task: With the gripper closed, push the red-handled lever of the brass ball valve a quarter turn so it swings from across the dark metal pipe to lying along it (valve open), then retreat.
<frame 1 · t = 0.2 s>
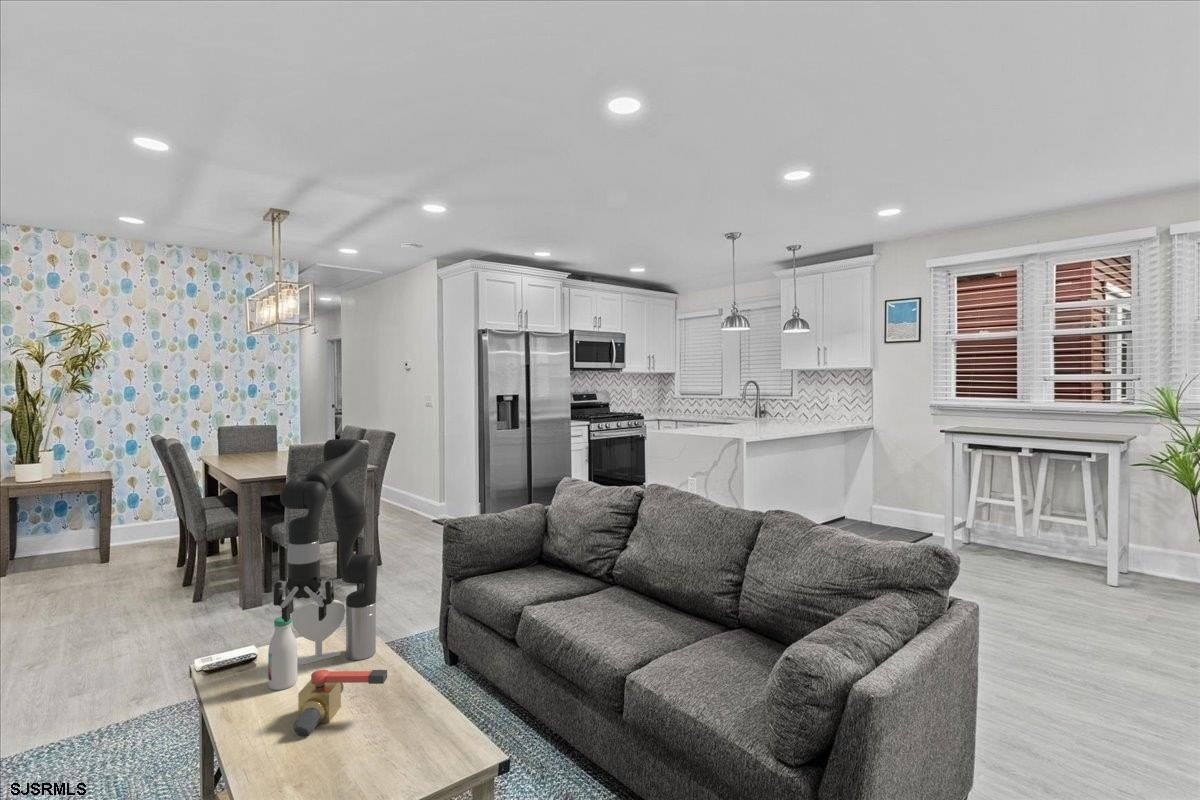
hand: (304, 620, 157), 29 cm above the table, fingers open, 8 cm apart
heart sculpture: (318, 657, 200), on the table
milk bottle: (283, 685, 181), on the table
valve body: (320, 714, 165), on the table
lever: (348, 676, 165), point 10 cm above the table, hinge at 90.0°
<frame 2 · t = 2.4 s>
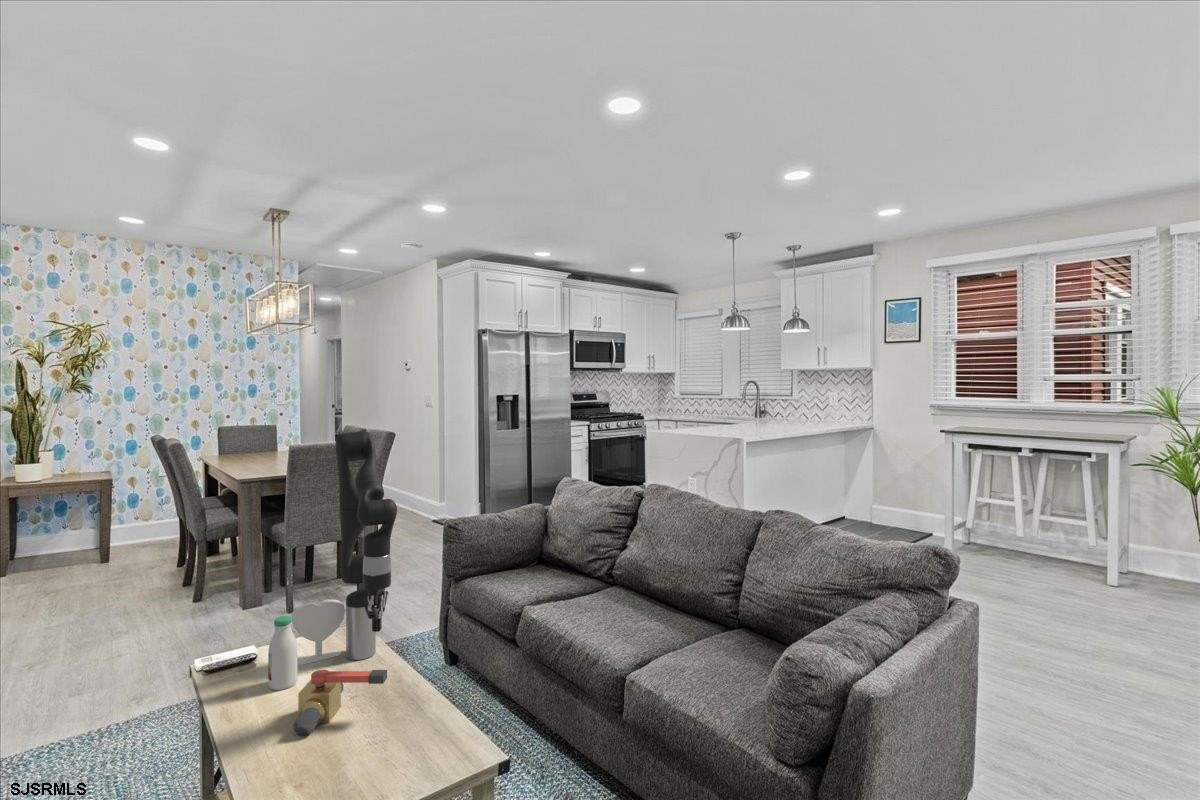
hand: (376, 630, 172), 20 cm above the table, fingers closed
nothing on the table moved.
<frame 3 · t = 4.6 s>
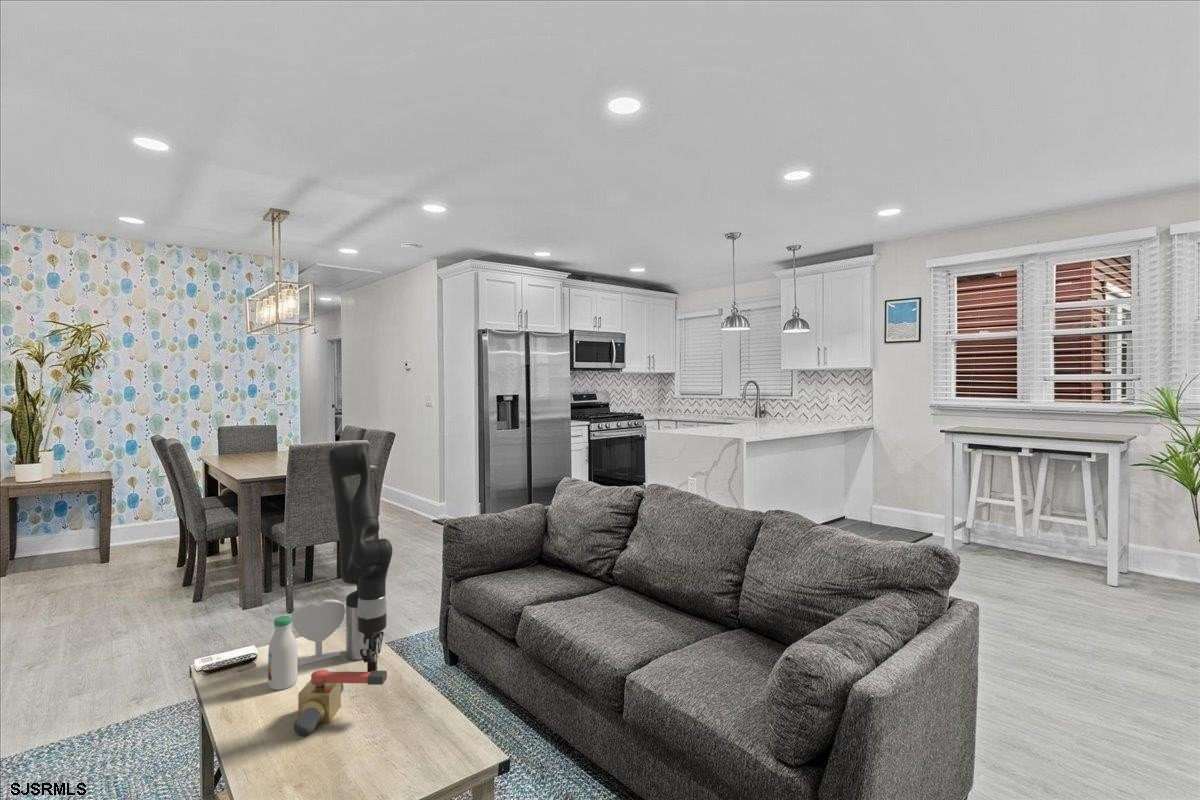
hand: (372, 673, 168), 10 cm above the table, fingers closed
lever: (348, 677, 165), point 10 cm above the table, hinge at 88.2°, touching gripper
everything else where it was.
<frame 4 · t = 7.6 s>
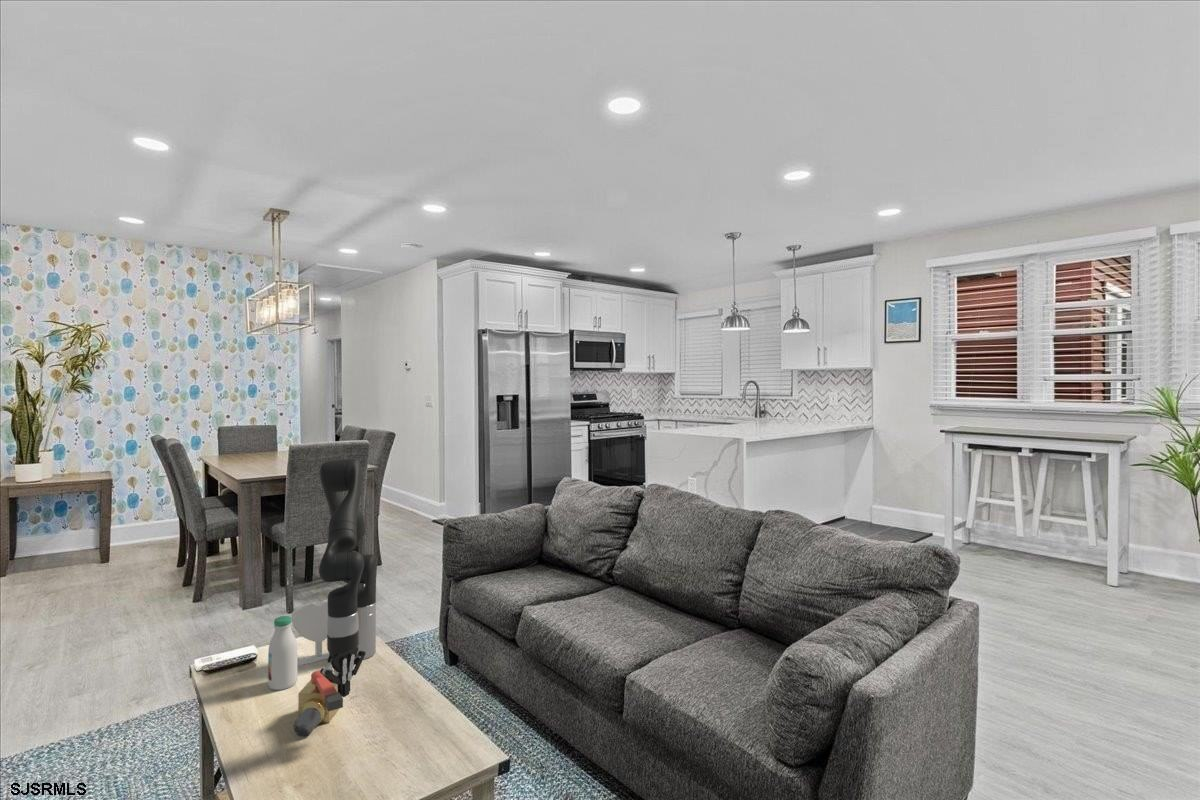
hand: (343, 695, 157), 10 cm above the table, fingers closed
lever: (326, 688, 159), point 10 cm above the table, hinge at 34.1°, touching gripper
everything else where it was.
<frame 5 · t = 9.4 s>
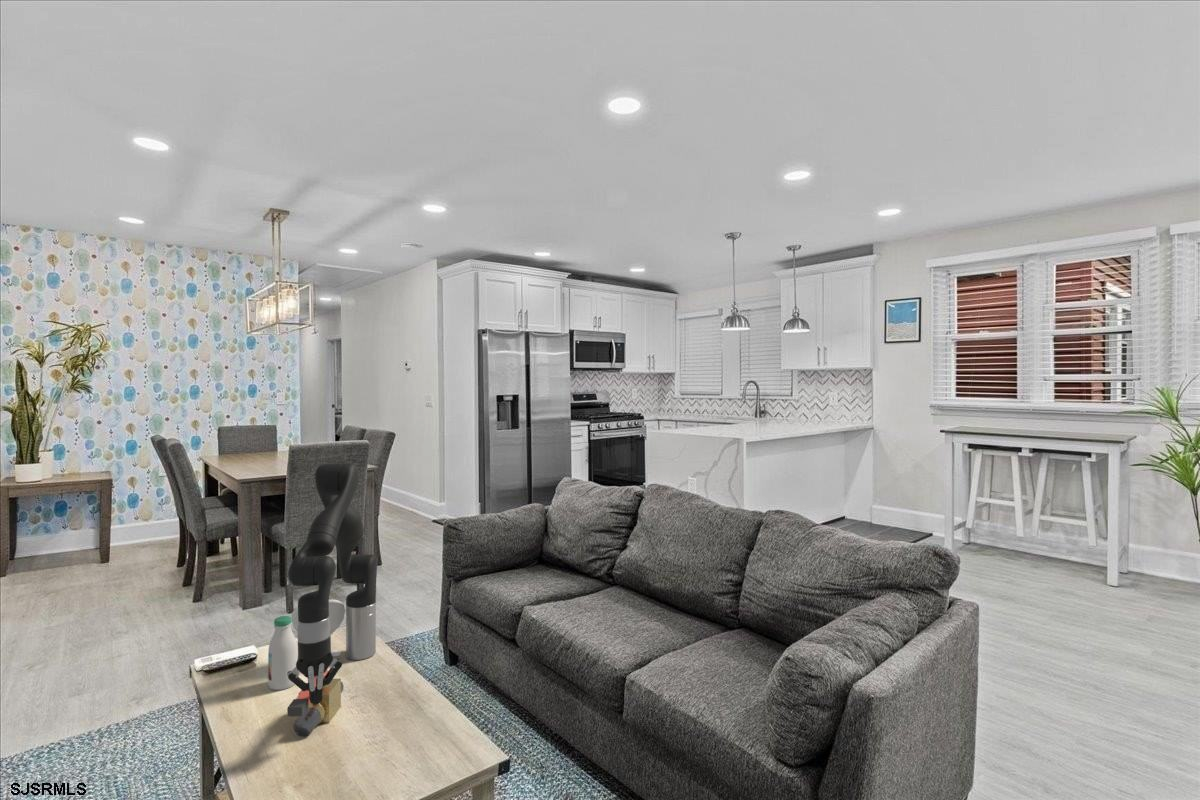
hand: (315, 703, 153), 10 cm above the table, fingers closed
lever: (309, 691, 157), point 10 cm above the table, hinge at 3.8°, touching gripper
everything else where it was.
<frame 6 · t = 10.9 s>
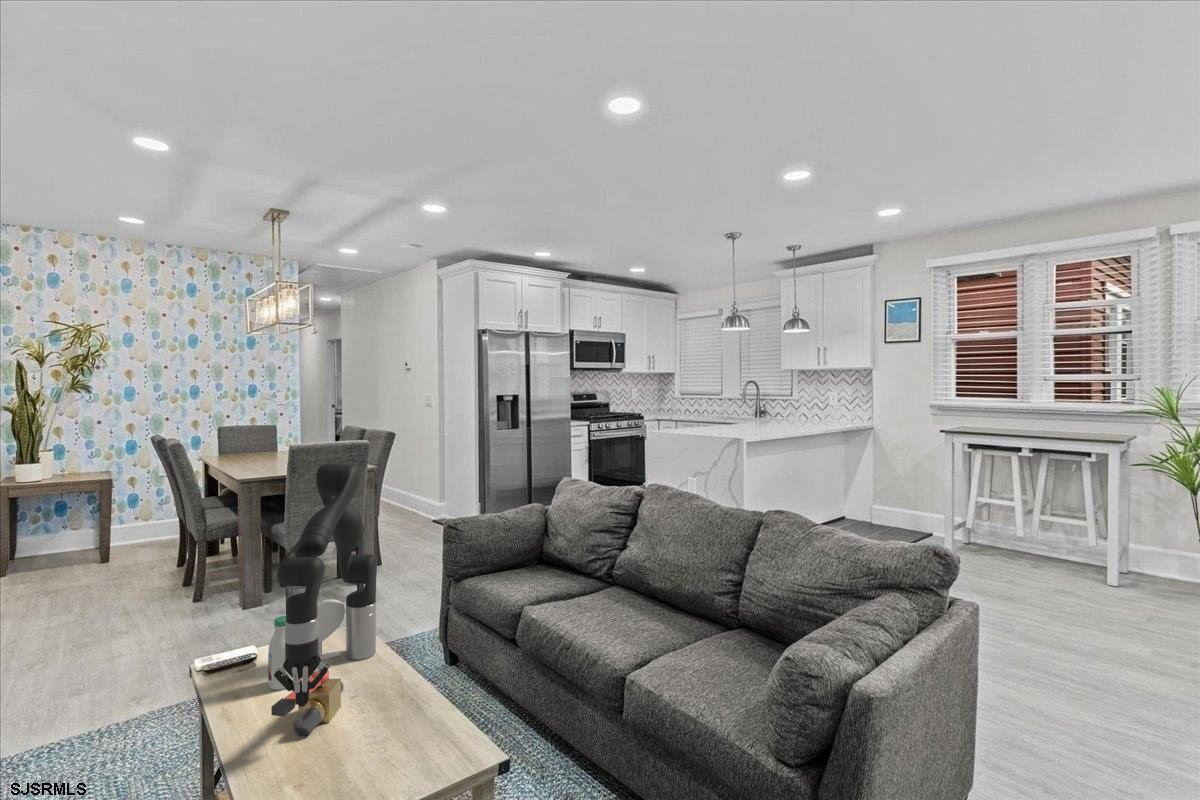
hand: (302, 705, 152), 10 cm above the table, fingers closed
lever: (302, 691, 157), point 10 cm above the table, hinge at -9.6°, touching gripper
everything else where it was.
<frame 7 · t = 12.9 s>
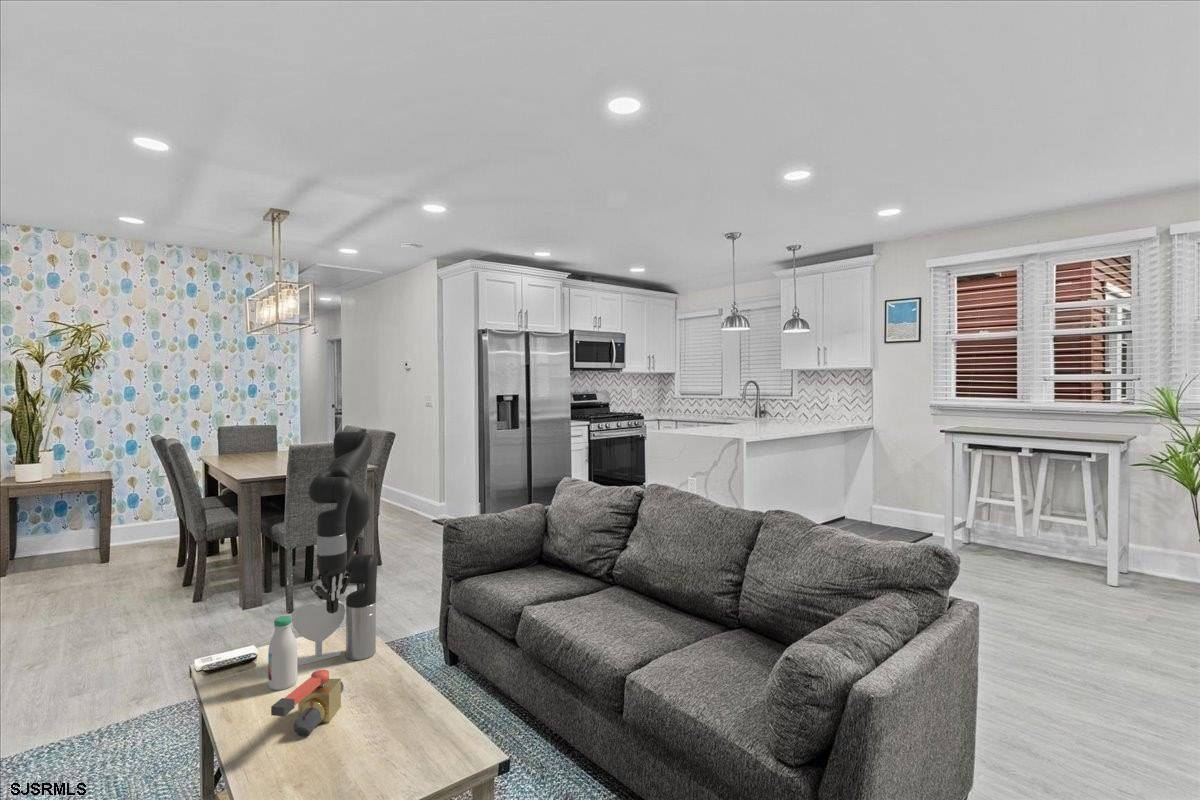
hand: (332, 612, 166), 28 cm above the table, fingers closed
lever: (302, 691, 157), point 10 cm above the table, hinge at -9.9°
everything else where it was.
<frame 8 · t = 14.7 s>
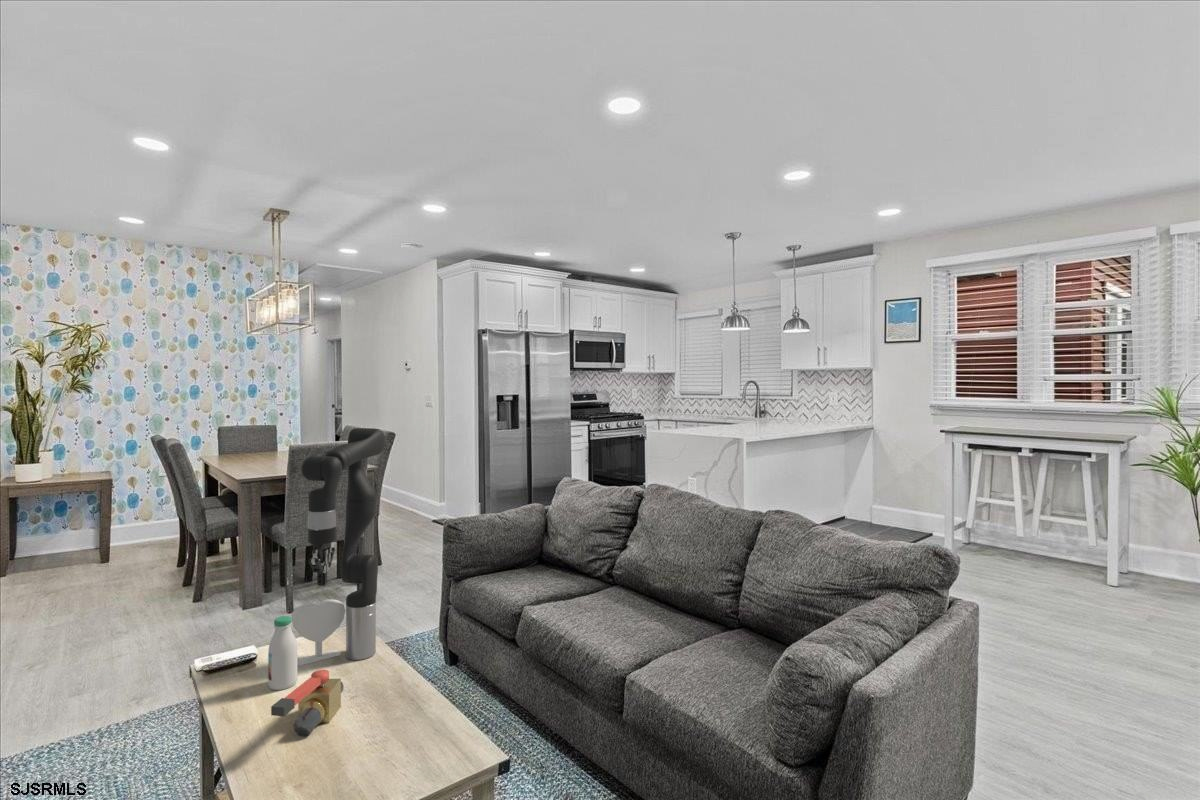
hand: (322, 584, 175), 32 cm above the table, fingers closed
nothing on the table moved.
at the end: lever at -10° (first picture: +90°); lever touching nothing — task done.
